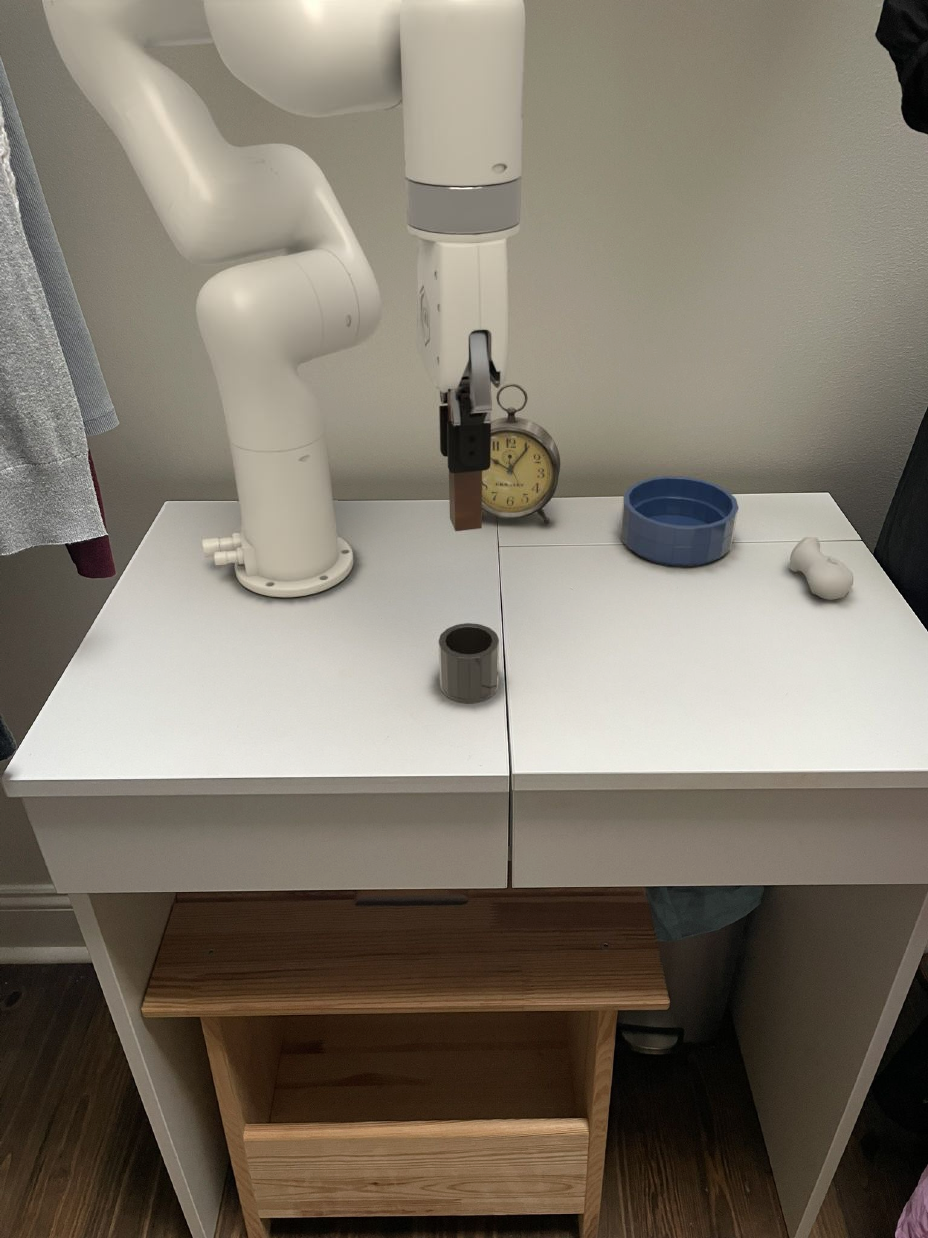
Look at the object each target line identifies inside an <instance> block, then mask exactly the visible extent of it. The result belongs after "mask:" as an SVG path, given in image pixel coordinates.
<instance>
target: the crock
mask: <svg viewBox="0 0 928 1238" xmlns="http://www.w3.org/2000/svg"><path fill="white" fill-rule="evenodd" d="M499 638H500V637H499V636H498V634H497V633H496V632H495V631H494V630H493V629H492V628H490V627H488V626H486V625H484V624H480V623H473V622H464V623H457V624H455V625H452V626H450V627H448V628H446V629H445V630H443V631H442V632H441V634H440V635H439V638H438V665H439V666H438V667H439V686H440V690H441V692H442V694H443V695H444V696H445V697H447V698H448V699H450V700H451V701H454V702H457V703H461V704H476V703H481V702H484V701H487V700H489V699H490V698H492V697H493V696H494V695H495V694H496V692H497V691H498V689H499V680H500V679H499V678H500V677H499V675H500V639H499Z"/></svg>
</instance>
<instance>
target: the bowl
mask: <svg viewBox="0 0 928 1238" xmlns="http://www.w3.org/2000/svg"><path fill="white" fill-rule="evenodd" d="M621 507H622V508H621V509H622V510H621V517H620V518H621V519H620V529H619V531H620V539H621V540H622V541H623V543H624V545H625V546H626V547H627V548H629V549H630V550H631V551H632V552H633V553H635V554H636V555H638V556H639V557H641V558H642V559H645V560H647V561H650V562H653V563H656V564H659V565H665V566H672V567H697V566H701V565H705V564H709V563H711V562H713V561H716V560H718V559H720V558H722V557H723V556H724V555H726V554H727V553H728V552H729V551H730V550H731V547H732V545H733V542H734V537H735V531H736V525H737V521H738V514H739V505H738V501H737V498H736V497H735V496H734V495H733V494H732V493H731V492H730V491H729V490H727V489H725V488H723V487H722V486H720V485H718V484H716V483H714V482H710V481H708V480H704V479H700V478H695V477H689V476H684V475H683V476H681V475H678V476H677V475H664V476H663V475H662V476H654V477H650V478H646V479H643V480H642V479H641V480H639V481H636V482H635V483H633V484H632V485H631V486H629V487H628V488H627V489H626V491H625V492H624V494H623V496H622V506H621Z"/></svg>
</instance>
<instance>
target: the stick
mask: <svg viewBox="0 0 928 1238" xmlns="http://www.w3.org/2000/svg"><path fill="white" fill-rule="evenodd" d="M469 396H470V393H461V402H462V399H463V397H469ZM447 403H448V404H447V405H448V421H451V392H450V389H448V392H447ZM448 490H449V491H448V494H449V495H448V496H449V497H448V499H449V500H448V501H449V519H450V523H451V525H452V527H453V529H454V532H462V531H473V530H479V529H482V528H483V511H482V471H474V472H464V473H451V472H450V471H449V470H448Z"/></svg>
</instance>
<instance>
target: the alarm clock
mask: <svg viewBox="0 0 928 1238" xmlns="http://www.w3.org/2000/svg"><path fill="white" fill-rule="evenodd" d="M510 387H512V388H513V387H514V388H516V389H518V390H520V391H521V392H522V394H523V396H524V401H523V403H522V406H521V407H519V408H517V409H515V408H514V407H513V406H511V407H510V406H509V407H508V408H505V407H504V406H503V405H502V403H501V402H500V395H501V393H502V391H504V390H505V389H506V388H507V389H508V388H510ZM495 398H496V402H497V403H496V404H497V405H498V407H500V409H501V410H502V411H504V412H506V413H507V416H504V417H500V418H496V419H493V420H491V464H490V468H489V469H488V470H484V471H482V512H485V513H487V514H489V515H491V516H494V517H497V518H501V519H509V520H512V519H513V520H515V519H516V520H517V519H522V518H526V517H529V516H532V515H535V514H538V515H539V517H540V518H542V520H543V521H544V523H545V524H549V523H550V518H549V517H547V515H546V512H545V511H544V509H543V508H544V507H545V506H547V504H548V503H549V502H551V499H552V498H554V495H555V493H556V490H557V487H558V484H559V476H560V471H561V457H560V451H559V449H558V446H557V443H556V442H555V440H554V439H553V437H552V436H551V434H550V433H549V432H548V431H547V430H546V429H545V428H543V427H542V426H541V425H540V424H538V423H536V422H534V421H532V420H531V419H530V420H529V419H527V418H523V417H518V416H516V413H519V412H520V411H522V410H524V409H525V407H526V406H527V403H528V399H529V398H528V394H527V391H526V389H524V387H523V386H521V385H520V384H518V383H506V384H503V385H502V386H500V387H499V388H498V390H497V392H496V397H495Z"/></svg>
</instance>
